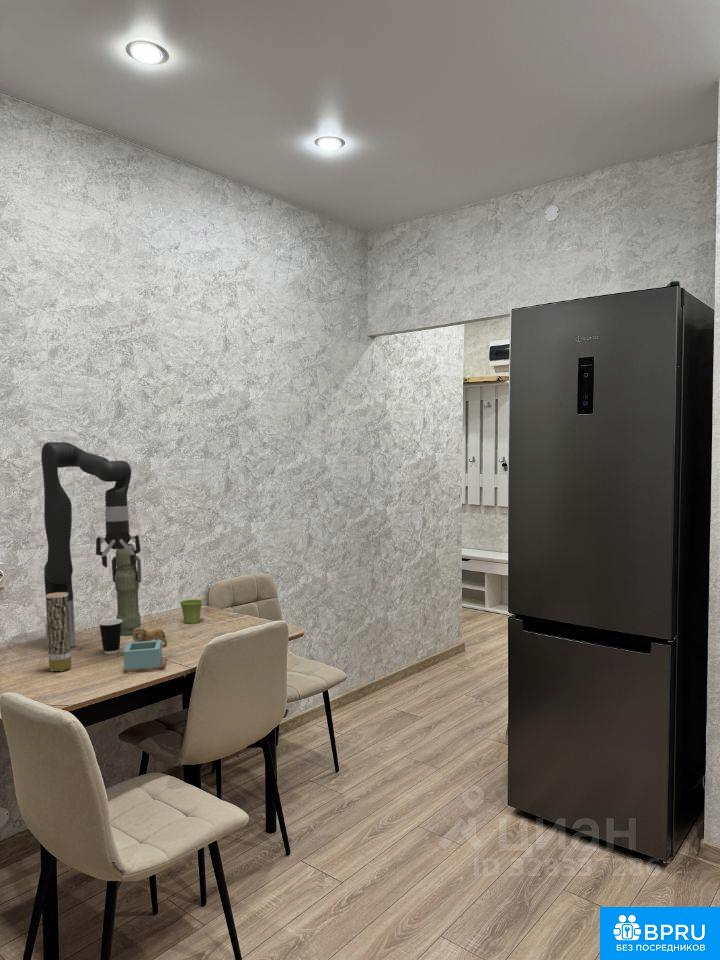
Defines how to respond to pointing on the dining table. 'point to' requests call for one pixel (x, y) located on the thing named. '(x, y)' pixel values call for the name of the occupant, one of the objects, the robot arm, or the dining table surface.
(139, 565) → the thermos
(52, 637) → the paper tube
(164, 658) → the shaft block
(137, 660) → the collar
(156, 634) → the lion figurine
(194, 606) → the plant pot
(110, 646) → the dixie cup
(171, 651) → the dining table surface
